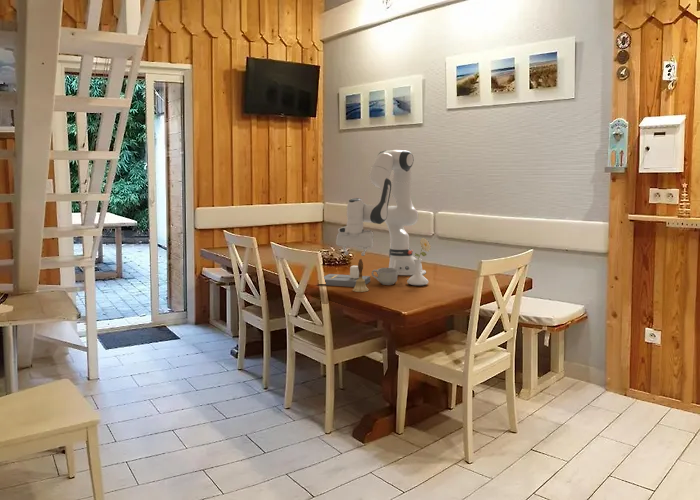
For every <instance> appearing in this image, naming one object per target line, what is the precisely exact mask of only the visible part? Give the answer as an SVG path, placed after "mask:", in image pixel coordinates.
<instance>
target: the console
mask: <svg viewBox="0 0 700 500" xmlns="http://www.w3.org/2000/svg"><path fill="white" fill-rule="evenodd" d="M323 277H324V279H325V282H326V285H325V286H333V287H334V286H335V287H348V288H349V287H350V288H354V287H355V285H356V280H357V279H359V278H350V274H337V273H336V274H335V273H328V274H326V275H324V276H323ZM362 279H364V280H365V284H366V285H368V284H369V283H371V276H369V275H362Z"/></svg>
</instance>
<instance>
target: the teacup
mask: <svg viewBox="0 0 700 500" xmlns="http://www.w3.org/2000/svg"><path fill="white" fill-rule="evenodd" d="M374 273H376V275H377V276H376V275H375V274H374ZM397 273H398V270H397V269H395V268H389V267H380V268H377V269H373V270H372V271H371V277H373V278H374V279H376V281H377V282H379V283H380V284H381V285H384V286H391V285H395V283H397V281H398V275H397Z"/></svg>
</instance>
